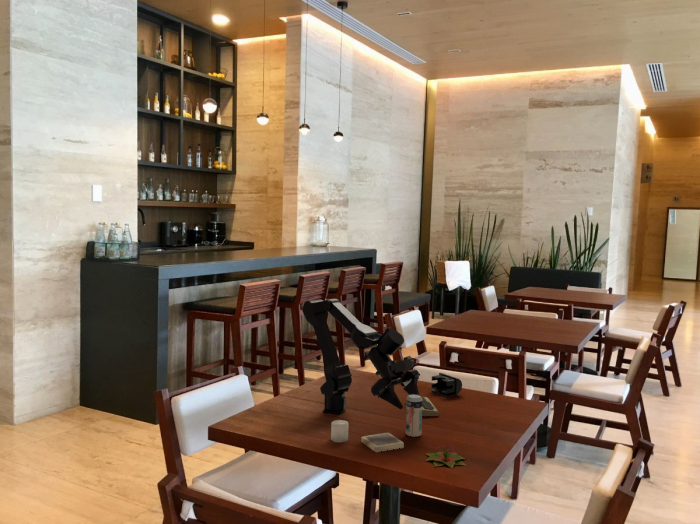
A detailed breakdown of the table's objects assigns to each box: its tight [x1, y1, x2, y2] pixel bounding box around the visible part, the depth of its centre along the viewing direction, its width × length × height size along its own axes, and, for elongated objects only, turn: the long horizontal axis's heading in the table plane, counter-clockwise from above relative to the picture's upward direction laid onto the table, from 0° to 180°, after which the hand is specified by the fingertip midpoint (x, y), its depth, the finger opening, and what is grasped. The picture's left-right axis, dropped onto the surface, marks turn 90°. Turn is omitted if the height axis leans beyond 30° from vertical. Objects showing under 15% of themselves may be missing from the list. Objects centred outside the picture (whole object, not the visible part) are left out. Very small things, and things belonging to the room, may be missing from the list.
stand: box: [360, 432, 405, 453], centre depth 176 cm, size 9×9×2 cm
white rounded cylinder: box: [330, 419, 349, 443], centre depth 179 cm, size 5×5×5 cm
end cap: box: [430, 372, 463, 398], centre depth 230 cm, size 10×7×7 cm
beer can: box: [405, 394, 423, 438], centre depth 184 cm, size 5×5×12 cm
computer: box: [405, 395, 440, 417], centre depth 209 cm, size 16×8×3 cm, turn 6°
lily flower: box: [425, 443, 467, 469], centre depth 165 cm, size 12×12×5 cm
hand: (411, 405), depth 184 cm, fingers open, 9 cm apart
